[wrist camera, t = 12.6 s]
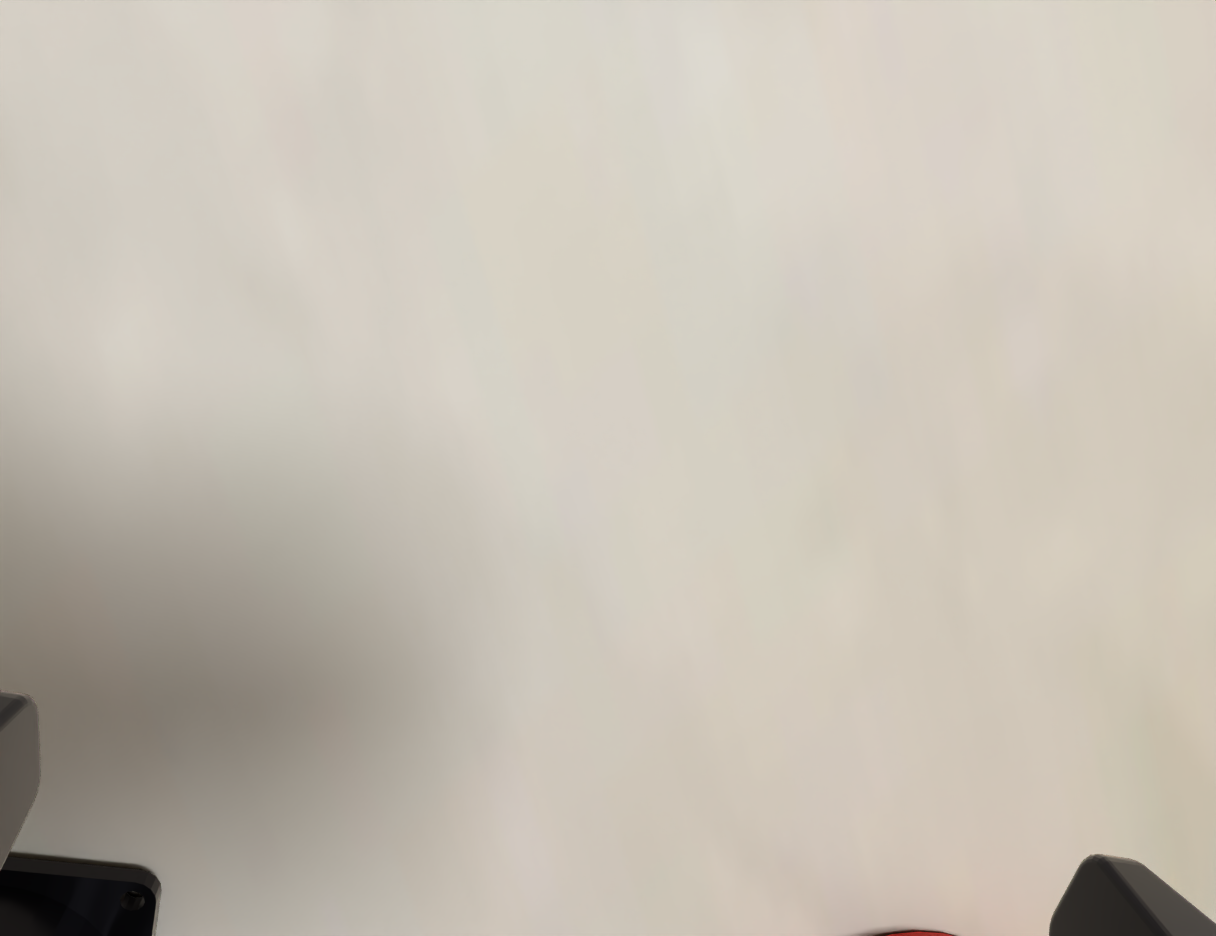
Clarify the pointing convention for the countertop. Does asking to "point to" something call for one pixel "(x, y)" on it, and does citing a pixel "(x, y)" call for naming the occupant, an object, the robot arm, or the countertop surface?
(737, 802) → the countertop surface
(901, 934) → the canned food
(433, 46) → the countertop surface
